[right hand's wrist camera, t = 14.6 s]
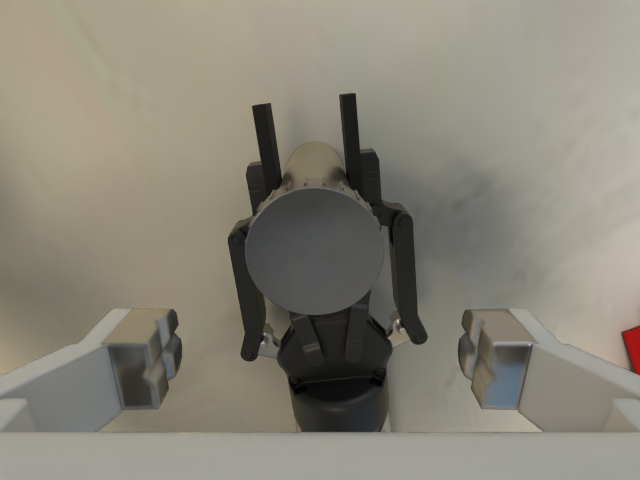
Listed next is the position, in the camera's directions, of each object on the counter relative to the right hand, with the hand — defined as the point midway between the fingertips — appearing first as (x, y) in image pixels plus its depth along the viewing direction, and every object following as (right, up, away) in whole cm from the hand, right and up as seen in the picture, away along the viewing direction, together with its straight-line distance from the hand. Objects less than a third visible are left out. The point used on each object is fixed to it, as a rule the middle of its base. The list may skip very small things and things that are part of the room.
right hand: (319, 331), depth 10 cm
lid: (0, +2, +5) cm, 5 cm away
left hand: (-1, +11, +13) cm, 16 cm away
